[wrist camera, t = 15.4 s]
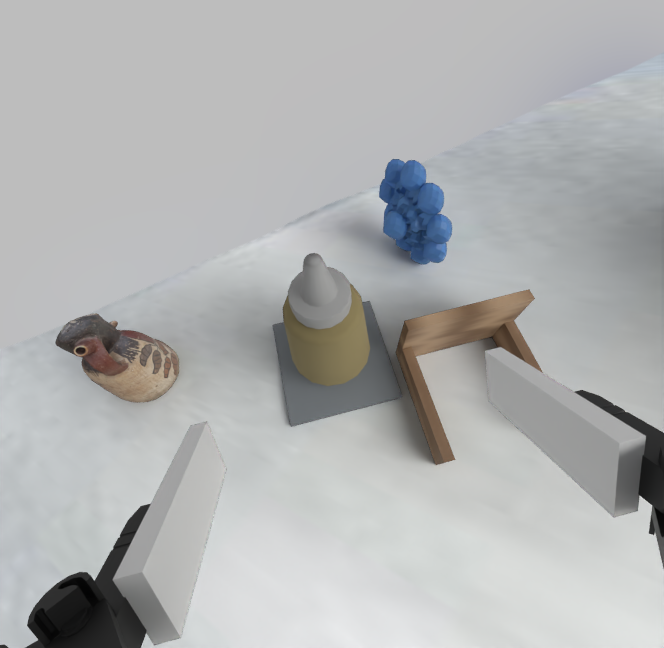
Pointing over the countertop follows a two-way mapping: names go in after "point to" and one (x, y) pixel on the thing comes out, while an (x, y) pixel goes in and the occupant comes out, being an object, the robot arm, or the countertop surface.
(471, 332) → the brown wooden frame
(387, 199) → the grapes
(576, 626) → the countertop surface
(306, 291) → the squeeze bottle
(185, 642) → the countertop surface
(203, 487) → the robot arm
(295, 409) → the rubber mat
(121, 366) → the figurine
